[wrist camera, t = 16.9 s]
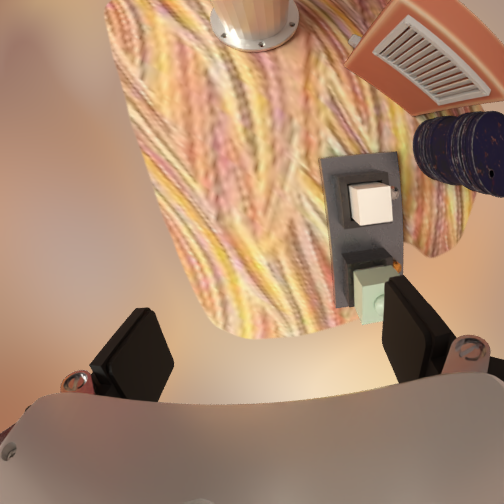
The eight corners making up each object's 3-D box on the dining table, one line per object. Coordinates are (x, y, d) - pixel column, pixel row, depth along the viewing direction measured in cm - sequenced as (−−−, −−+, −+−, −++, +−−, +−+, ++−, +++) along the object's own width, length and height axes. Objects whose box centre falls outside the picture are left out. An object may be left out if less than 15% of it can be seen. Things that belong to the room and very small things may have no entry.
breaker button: (346, 184, 33) (356, 189, 29) (376, 181, 33) (390, 185, 28) (349, 215, 34) (360, 225, 30) (378, 212, 34) (392, 221, 29)
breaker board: (318, 158, 37) (325, 159, 31) (391, 151, 35) (408, 152, 29) (333, 301, 43) (340, 322, 38) (397, 290, 42) (411, 309, 36)
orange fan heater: (353, 34, 30) (434, 94, 31) (331, 66, 32) (416, 127, 33) (405, -44, 9) (529, 70, 11) (378, -8, 12) (516, 118, 13)
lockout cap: (353, 271, 34) (364, 291, 29) (391, 265, 33) (407, 283, 28) (354, 306, 36) (364, 330, 30) (390, 300, 35) (404, 322, 30)
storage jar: (429, 104, 32) (489, 91, 18) (470, 146, 33) (532, 152, 19) (400, 154, 35) (457, 158, 21) (443, 194, 36) (504, 216, 22)
